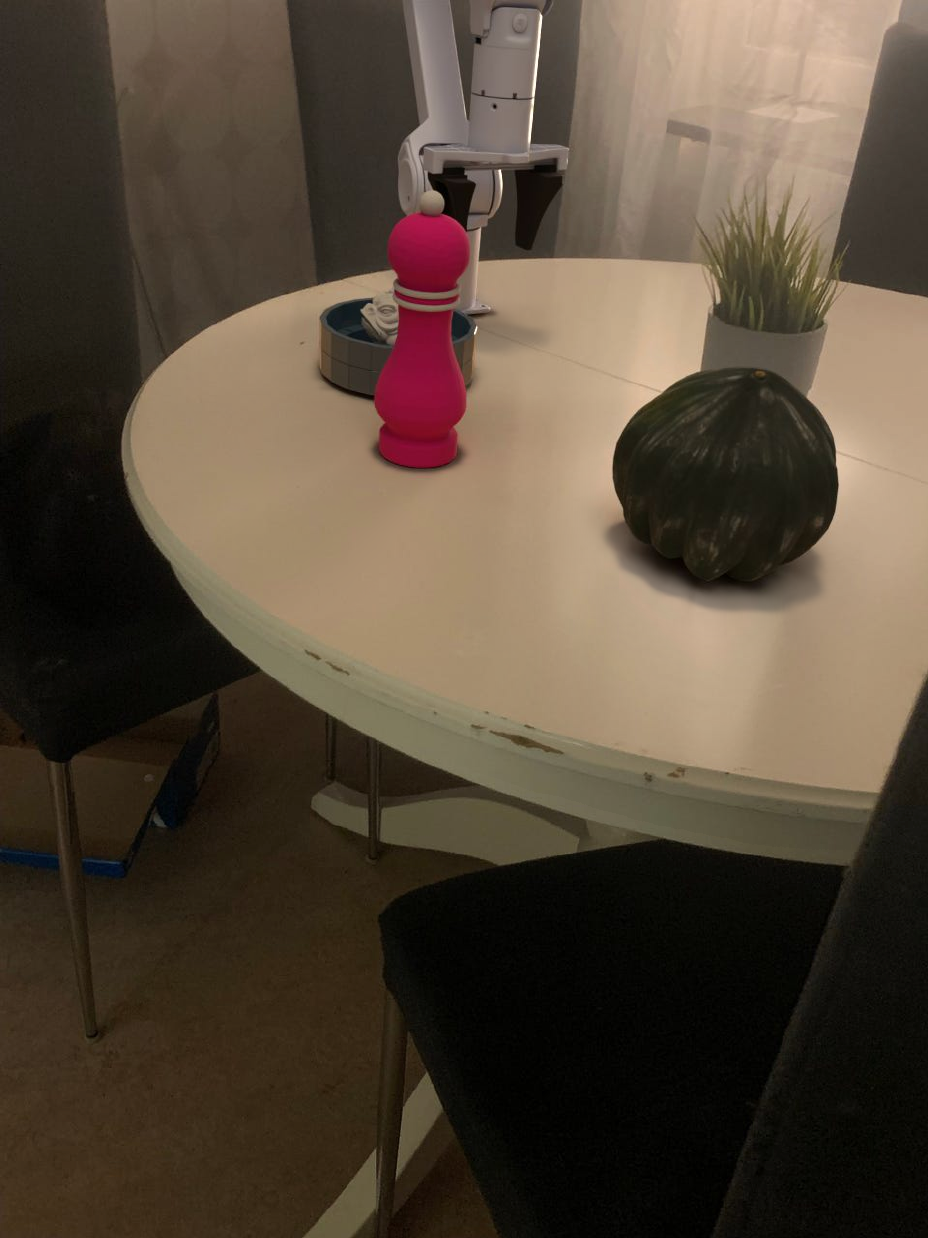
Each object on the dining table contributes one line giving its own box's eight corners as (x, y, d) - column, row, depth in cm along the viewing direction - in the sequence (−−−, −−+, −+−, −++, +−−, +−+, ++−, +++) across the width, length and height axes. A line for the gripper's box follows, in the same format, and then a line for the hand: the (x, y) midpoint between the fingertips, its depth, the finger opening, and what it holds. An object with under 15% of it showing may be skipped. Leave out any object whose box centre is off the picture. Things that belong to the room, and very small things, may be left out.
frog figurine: (352, 358, 102) (353, 284, 98) (423, 356, 104) (428, 283, 100) (366, 382, 97) (368, 305, 93) (441, 379, 99) (446, 304, 95)
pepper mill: (452, 477, 83) (472, 207, 72) (361, 463, 84) (368, 194, 73) (470, 440, 89) (492, 186, 78) (385, 427, 90) (395, 174, 79)
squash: (699, 411, 84) (664, 292, 71) (882, 482, 77) (881, 364, 64) (603, 561, 82) (549, 468, 69) (781, 648, 75) (759, 562, 62)
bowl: (296, 356, 103) (295, 304, 100) (428, 341, 109) (431, 291, 106) (358, 412, 93) (360, 355, 90) (500, 392, 99) (505, 339, 96)
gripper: (453, 101, 91) (443, 265, 98) (594, 101, 97) (575, 255, 105) (415, 89, 96) (408, 246, 103) (551, 90, 102) (536, 238, 110)
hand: (490, 249), depth 104 cm, fingers open, 7 cm apart
